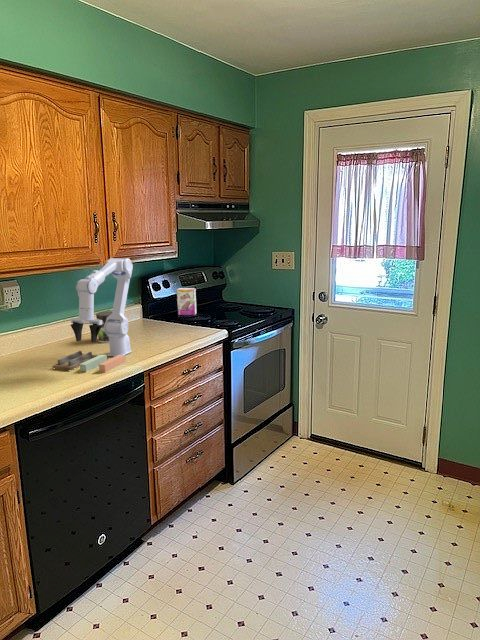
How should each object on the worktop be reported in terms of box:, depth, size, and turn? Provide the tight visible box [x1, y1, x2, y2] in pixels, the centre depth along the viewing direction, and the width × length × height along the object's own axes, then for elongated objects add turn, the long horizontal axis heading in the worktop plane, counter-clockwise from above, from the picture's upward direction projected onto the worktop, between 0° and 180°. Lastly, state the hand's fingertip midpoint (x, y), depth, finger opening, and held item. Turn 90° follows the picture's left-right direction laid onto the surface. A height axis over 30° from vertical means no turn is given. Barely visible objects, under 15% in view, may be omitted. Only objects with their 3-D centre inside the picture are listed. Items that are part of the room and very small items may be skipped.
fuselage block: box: [79, 354, 108, 373], centre depth 205 cm, size 14×3×4 cm, turn 158°
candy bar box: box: [176, 287, 198, 316], centre depth 300 cm, size 11×5×16 cm, turn 82°
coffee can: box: [95, 310, 113, 344], centre depth 246 cm, size 10×10×14 cm
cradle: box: [52, 350, 98, 371], centre depth 210 cm, size 18×9×4 cm, turn 158°
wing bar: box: [98, 355, 126, 374], centre depth 204 cm, size 14×3×4 cm, turn 158°
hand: (86, 341), depth 200 cm, fingers open, 7 cm apart
